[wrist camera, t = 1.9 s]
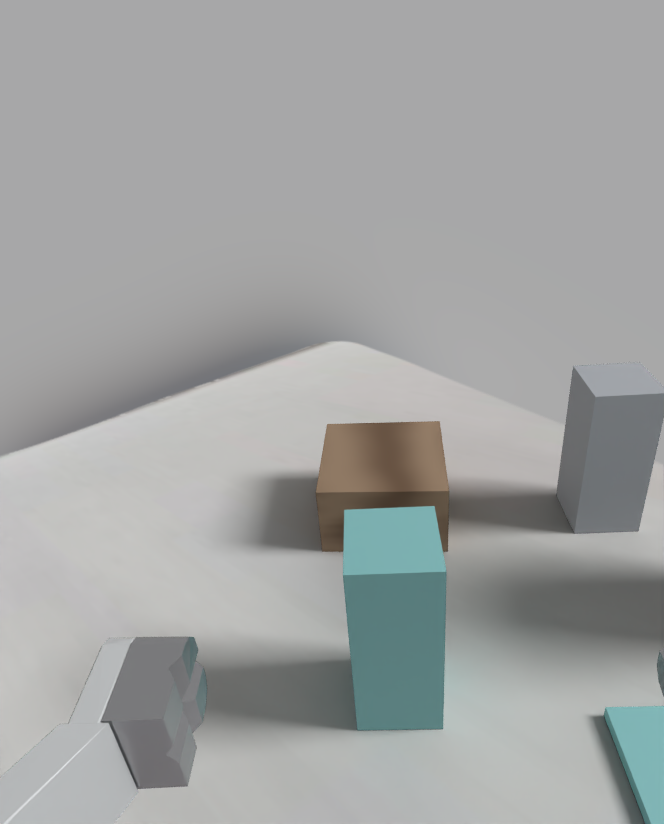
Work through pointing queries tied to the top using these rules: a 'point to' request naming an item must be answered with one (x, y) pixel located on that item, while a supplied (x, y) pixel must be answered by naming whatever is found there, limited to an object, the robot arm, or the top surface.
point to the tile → (641, 754)
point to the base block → (380, 474)
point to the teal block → (395, 616)
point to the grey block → (609, 446)
